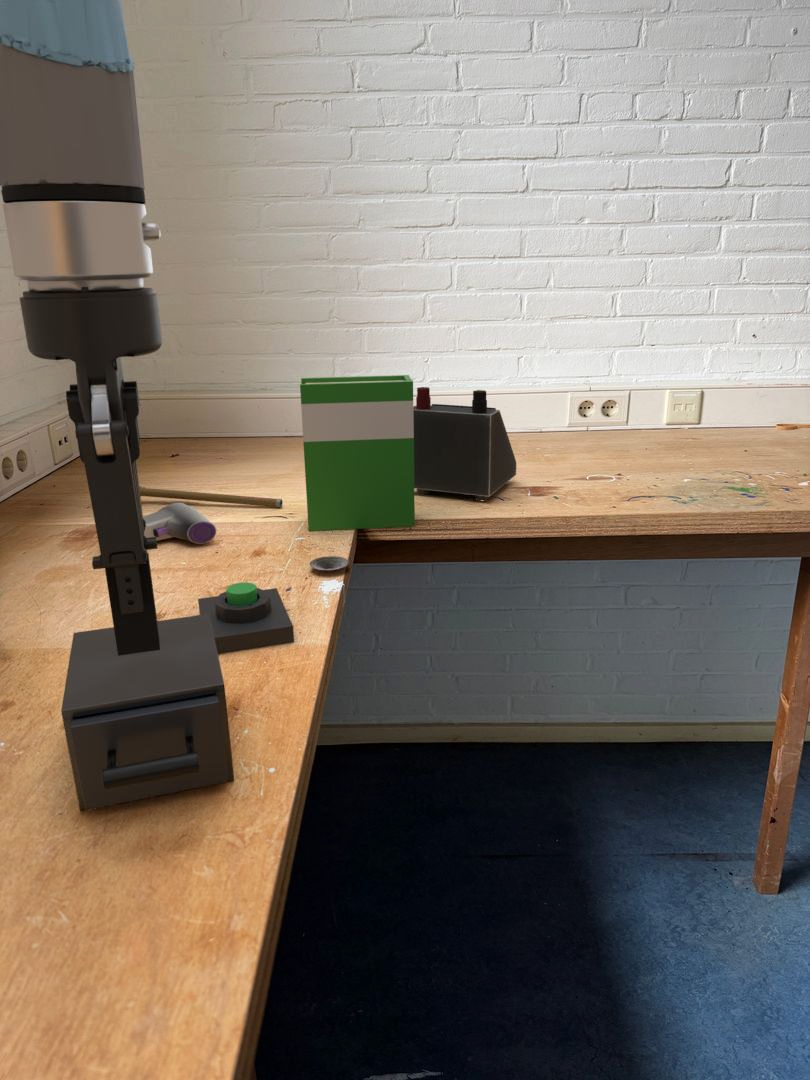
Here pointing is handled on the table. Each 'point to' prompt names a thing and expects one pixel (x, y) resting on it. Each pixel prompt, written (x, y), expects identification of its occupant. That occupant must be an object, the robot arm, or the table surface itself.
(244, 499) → the panzerfaust
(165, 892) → the table surface
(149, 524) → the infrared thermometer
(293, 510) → the table surface
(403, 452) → the green cereal box
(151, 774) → the drawer
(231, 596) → the button
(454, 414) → the voltmeter
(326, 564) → the small grey dish
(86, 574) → the table surface
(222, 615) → the control block
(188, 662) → the cabinet
